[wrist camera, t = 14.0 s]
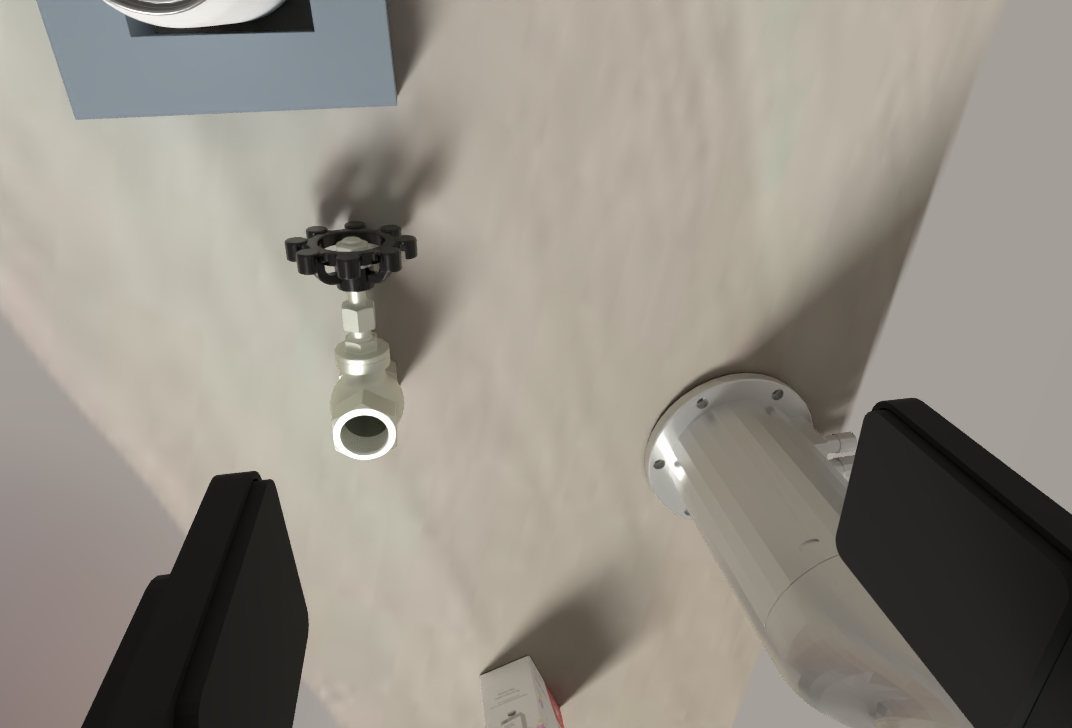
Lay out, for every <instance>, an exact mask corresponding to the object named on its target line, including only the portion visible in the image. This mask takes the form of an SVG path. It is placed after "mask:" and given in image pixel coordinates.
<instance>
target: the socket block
mask: <svg viewBox="0 0 1072 728" xmlns="http://www.w3.org/2000/svg"><path fill="white" fill-rule="evenodd" d="M36 1H37V4H38V7H39V10H40V13H41V16H42V19H43V22H44V25H45V28H46V31H47V34H48V37H49V40H50V43H51V46H52V49H53V52H54V55H55V58H56V61H57V65H58V68H59V71H60V74H61V77H62V80H63V83H64V86H65V89H66V92H67V95H68V98H69V101H70V104H71V107H72V110H73V113H74V116H75V119H76V120H80V119H103V118H126V117H148V116H171V115H194V114H217V113H239V112H262V111H285V110H308V109H331V108H353V107H376V106H397V90H396V81H395V72H394V63H393V54H392V45H391V35H390V26H389V17H388V8H387V0H310V5H311V11H312V18H313V24H314V30H279V31H243V32H207V33H170V34H157V32H156V28H155V25H153V24H149V23H145V22H142V21H139V20H137V19H134V18H132V17H130V16H127V15H125V14H123V13H122V12H120V11H118V10H116V9H115V8H113V7H111V6H110V5H108V4H107V3H106V2H104V1H103V0H36Z"/></svg>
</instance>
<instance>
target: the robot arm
mask: <svg viewBox="0 0 1072 728" xmlns="http://www.w3.org/2000/svg"><path fill="white" fill-rule="evenodd" d="M856 448H857V449H856ZM855 449H856V454H855V455H853V456H845V457H838V458H833V459H831V460H828V459H827V458H826V457H827V453H834V452H835V453H842V452H849V451H854V450H855ZM644 462H645V472H646V476H647V479H648V482H649V485H650V487H651V489H652V491H653V492H654V494H655V496H656V498H657V499H658V500H659V501H660V502H661V504H662V505H663V506H664V507H665V508H667V509H668V510H670V511H671V512H672V513H674V514H676V515H678V516H680V517H683V518H685V519H690V520H693V521H694V523H695V524H696V526H697V528H698V530H699V532H700V533H701V535H702V537H703V539H704V540H705V542H706V544H707V546H708V548H709V549H710V551H711V553H712V555H713V557H714V558H715V560H716V562H717V564H718V565H719V567H720V569H721V571H722V573H723V574H724V576H725V578H726V580H727V581H728V583H729V585H730V587H731V589H732V590H733V592H734V594H735V596H736V598H737V599H738V601H739V603H740V605H741V606H742V608H743V610H744V612H745V614H746V615H747V617H748V619H749V621H750V622H751V624H752V626H753V628H754V630H755V631H756V633H757V635H758V637H759V639H760V640H761V642H762V644H763V646H764V647H765V649H766V651H767V652H768V654H769V656H770V658H771V660H772V661H773V663H774V665H775V666H776V668H777V670H778V672H779V673H780V675H781V676H782V678H783V679H784V680H785V681H786V683H787V684H788V685H789V687H790V688H791V689H792V690H793V691H794V692H795V693H796V694H797V695H798V696H799V697H800V698H802V699H803V700H804V701H805V702H806V703H807V704H809V705H810V706H811V707H813V708H815V709H816V710H818V711H819V712H821V713H823V714H824V715H826V716H828V717H830V718H832V719H834V720H836V721H838V722H840V723H842V724H845V725H847V726H849V727H852V728H1072V514H1070V513H1069V512H1068V511H1066V510H1065V509H1064V508H1062V507H1061V506H1059V505H1058V504H1057V503H1056V502H1054V501H1053V500H1052V499H1050V498H1049V497H1048V496H1046V495H1045V494H1044V493H1042V492H1041V491H1040V490H1038V489H1037V488H1036V487H1035V486H1033V485H1032V484H1031V483H1029V482H1028V481H1026V480H1025V479H1024V478H1023V477H1021V476H1020V475H1019V474H1017V473H1016V472H1015V471H1013V470H1012V469H1011V468H1010V467H1008V466H1007V465H1006V464H1004V463H1003V462H1002V461H1000V460H999V459H998V458H996V457H995V456H994V455H992V454H991V453H989V452H988V451H987V450H986V449H984V448H983V447H982V446H981V445H979V444H977V442H975V441H974V440H972V439H971V438H970V437H969V436H967V435H966V434H965V433H963V432H962V431H961V430H959V429H958V428H957V427H955V426H954V425H953V424H951V423H950V422H949V421H948V420H946V419H945V418H944V417H942V416H941V415H940V414H938V413H937V412H936V411H934V410H933V409H932V408H930V407H929V406H928V405H926V404H925V403H924V402H922V401H921V400H919V399H917V398H906V399H897V400H888V401H881V402H878V403H877V404H876V405H875V406H874V407H873V409H872V411H871V412H868V413H867V414H866V415H865V418H864V420H863V424H862V428H861V433H860V437H859V441H858V445H857V440H856V437H855V435H854V434H853V433H851V432H845V433H837V434H832V435H829V436H824V435H823V434H821V433H818V432H817V431H816V430H815V429H814V428H813V423H812V418H811V414H810V412H809V410H808V408H807V405H806V404H805V402H804V401H803V400H802V399H801V398H800V396H799V395H798V394H797V393H796V392H795V391H794V390H792V389H791V388H790V387H789V386H788V385H787V384H785V383H783V382H782V381H780V380H778V379H776V378H773V377H770V376H766V375H763V374H753V373H740V374H731V375H726V376H723V377H719V378H716V379H712V380H710V381H708V382H706V383H704V384H701V385H699V386H697V387H695V388H694V389H692V390H691V391H689V392H688V393H686V394H685V395H683V396H682V397H681V398H679V399H678V400H677V401H676V402H675V403H674V404H673V405H672V406H671V407H669V409H668V410H667V411H666V412H665V413H664V415H663V416H662V417H661V418H660V420H659V421H658V423H657V424H656V426H655V428H654V430H653V431H652V433H651V436H650V438H649V441H648V444H647V447H646V453H645V461H644ZM308 627H309V623H308V612H307V607H306V603H305V599H304V595H303V591H302V587H301V583H300V579H299V576H298V572H297V568H296V564H295V560H294V556H293V552H292V548H291V544H290V540H289V536H288V532H287V529H286V525H285V521H284V517H283V513H282V509H281V505H280V501H279V497H278V493H277V489H276V486H275V483H274V481H273V480H271V479H268V480H262V479H261V476H260V475H259V473H258V472H256V471H250V472H241V473H232V474H223V475H216V476H214V477H213V478H212V480H211V482H210V484H209V486H208V489H207V491H206V493H205V496H204V498H203V500H202V502H201V505H200V507H199V509H198V512H197V514H196V516H195V518H194V521H193V523H192V525H191V528H190V530H189V532H188V535H187V537H186V539H185V541H184V544H183V546H182V548H181V551H180V553H179V555H178V558H177V560H176V562H175V564H174V567H173V569H172V571H171V573H170V574H167V575H160V576H157V577H155V578H154V579H153V580H151V582H150V584H149V585H148V587H147V588H146V590H145V592H144V594H143V597H142V599H141V601H140V603H139V605H138V607H137V609H136V611H135V614H134V616H133V618H132V620H131V622H130V624H129V626H128V628H127V631H126V633H125V635H124V637H123V639H122V641H121V643H120V646H119V648H118V650H117V652H116V654H115V656H114V658H113V661H112V663H111V665H110V667H109V669H108V671H107V673H106V676H105V678H104V680H103V682H102V684H101V686H100V688H99V691H98V693H97V695H96V697H95V699H94V701H93V703H92V706H91V708H90V710H89V712H88V714H87V716H86V718H85V721H84V723H83V725H82V727H81V728H292V725H293V720H294V714H295V708H296V702H297V697H298V691H299V685H300V679H301V673H302V668H303V662H304V656H305V650H306V644H307V638H308Z"/></svg>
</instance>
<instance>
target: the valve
mask: <svg viewBox="0 0 1072 728" xmlns="http://www.w3.org/2000/svg"><path fill="white" fill-rule="evenodd" d="M306 235H307V239H306V238H302V237H294V238H289V239H287V240H285V249H286V256H287V260H289V261H292V262H297V267H298V272H299V273H300V274H304V275H313V274H314V275H315V276H316V277H317V278H318V279H319V280H320V281H322V282H323V283H325V284H329V285H337V288H338V289H340V290H342V291H345V292H347V296H348V300H346V301H344V302H343V303H342V318H343V327H344V330H345V331H350V333H349V334H347V335H346V339H345V341H343V342H341V343H340V344H338V345H337V346H336V348H335V357H336V366H337V368H338V369H339V370H340V375H339V381H338V382H337V384H336V385H335V387H334V389H333V392H332V394H331V400H330V409H331V414H332V430H333V438H334V445H335V450H337V451H339V452H340V453H342V454H345V455H347V456H349V457H352V458H355V459H358V460H362V461H367V462H369V461H371V460H374V459H376V458H378V457H380V456H382V455H384V454H385V453H387V452H388V451H390V450H391V449H393V448H394V447H396V446H397V424H398V422H399V421H400V419H401V416H402V414H403V409H404V396H403V392H402V389H401V387H400V385H399V383H398V382H397V370H396V362H394V361H392V360H390V349H389V344H388V343H387V342H386V341H385V340H383V339H380V338H377V334H376V333H374V332H371V330H373V329H375V324H376V319H375V308H374V301H372V300H370V299H367V295H366V290H369V289H371V288H373V287H374V285H375V284H376V283H380V282H382V281H384V280H386V279H387V278H388V277H389V276H390V275H391V273H392V272H397V271H400V270H401V269H402V263H401V251H405V256H406V259H412V258H415V257H417V239H416V237H414V236H411V235H402V236H401V227H399V226H397V225H385V226H382V227H381V228H380V229H379V230H371V229H366V226H365V223H363V222H348V223H346V224H345V229H342V230H333V231H331V230H328V229H327V228H326V227H323V226H313V227H309V228H307V229H306ZM368 243H371V244H376V245H379V247H376V248H373V249H369V247H368ZM332 245H336V251H331V250H326V249H324V248H327V247H329V246H332ZM377 263H379V267H380V269H379V272H377V271H374V266H373V264H377ZM324 265H327V266H335V272H332V273H326V271H325V266H324Z"/></svg>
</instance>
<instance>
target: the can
mask: <svg viewBox="0 0 1072 728" xmlns="http://www.w3.org/2000/svg"><path fill="white" fill-rule="evenodd" d="M103 1H104V2H106V3H107V4H108V5H110V6H111V7H113V8H115V9H116V10H118V11H120V12H122V13H123V14H125V15H127V16H130V17H132V18H134V19H137V20H139V21H142V22H145V23H149V24H153V25H157V26H162V27H170V28H194V27H205V26H215V25H224V24H233V23H241V22H247V21H252V20H256V19H260V18H262V17H265V16H267V15H269V14H271V13H272V12H274V11H275V10H276V9H278V8H279V7H280V6H281V5H282V4H283V3H284V2H285V1H286V0H103Z"/></svg>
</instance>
